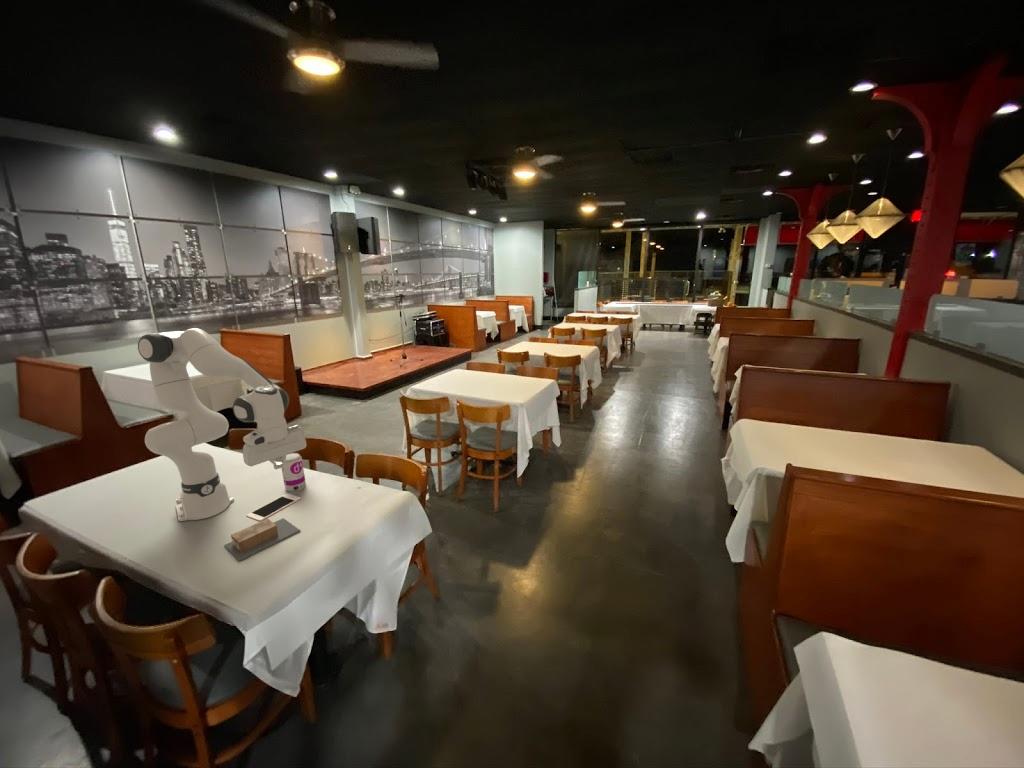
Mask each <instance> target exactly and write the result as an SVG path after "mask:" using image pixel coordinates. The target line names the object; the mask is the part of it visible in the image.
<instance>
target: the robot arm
mask: <svg viewBox="0 0 1024 768" xmlns="http://www.w3.org/2000/svg"><path fill="white" fill-rule="evenodd" d="M137 351H138V354H139V355H140V356H141V357H142V358H143V360H145V361H147V362H149V372H150V373H149V374H150V379H151V383H152V385H153V388H154V391H155V394H156V398H157V400H158V403H159V405H160V407H162V408H163V409H164V410H167V411H170V412H171V411H172V412H178V413H181V414H182V415H183V416H184V418H181V419H177V420H174V421H169V422H165V423H162V424H158V425H157V426H155V427H152V428H149V429H148V430H147V431H146V434H145V436H144V444H145V446H146V448H147V449H148V450H149V451H150V452H152V453H154V454H155V455H161V456H163V457H166V458H168V459H170V460H171V461H172V462H173V463H174V464H175V466H176V467H177V469H178V472H179V477H180V479H181V483H180V484H181V485H180V487H181V490H182V491H181V492H180V493H179V496H180V497H179V498H176V499H175V503H176V504H175V508H176V514H177V519H178V521H179V522H184V521H196V520H197V521H198V520H203V519H207V518H211V517H214V516H216V515H218V514H220V513H222V512H223V511H225V510H226V509H227V508H228V507H229V505H230V504H231V503H233V502H234V501H235V499H234V497H232V496H231V495H230V496H229V493H228V489H227V487H226V484H224V483H222V482H221V480H220V478H221V477H220V475H219V473H218V472H217V468H216V464H215V460H214V457H213V456H212V455H211V454H210V453H207V452H202V451H193V449H192V448H193V447H196V446H198V445H202V444H205V443H209V442H212V441H215V440H217V439H220V438H222V437H223V436H225V435H227V433H228V431H229V427H230V424H229V421H228V419H227V418H226V417H225V416H224V415H223V414H221V413H220V412H217V411H214V410H211V408H210V409H209V407H207V406H206V405H205V404H203V403H202V402H201V401H200V400H199V398H198V396H197V393H196V391H195V389H194V387H193V384H192V380H191V377H190V375H189V372H188V369H187V367H188V366H187V365H188V363H190V364H191V365H192V367H193V368H194V369H195V370H196V371H197V372H198V373H200V374H202V375H203V376H205V377H209V378H216V379H219V378H220V379H221V378H223V379H225V378H226V379H227V378H229V379H237V380H241V381H244V382H246V383H247V384H248V385H250V386H251V387H252V388H253V390H252V391H251V392H249V393H247V394H244V395H241V396H239V397H236V398H235V400H234V401H233V404H232V411H233V415H234V417H235V418H236V419H237V420H239V421H241V422H242V423H254V422H255V423H256V429H255V430H253V431H250V432H249V433H248V434H246V435H244V436H243V438H242V440H243V442H244V445H243V447H242V458H243V462H244V464H245V465H247V466H248V467H254V466H257V465H260V464H262V463H266V462H268V461H269V462H270V463H271V464H272V465H273V469H274V470H278V469H282V467H284V462H285V460H286V455H287V454H290V453H296V452H298V451H301V450H304V449H306V447H307V441H306V436H305V428H304V427H303V426H302V425H300V424H296V425H294V426H289V427H288V426H287V425H288V424H287V420H286V418H285V411H286V410H287V409H288V406H289V404H290V397H289V394H288V393H287V391H285V390H284V389H283V388H282V387H281V386H279V385H277V384H275V383H274V382H272V380H270V379H269V378H268V377H266V376H265V375H264V374H263V373H262V372H261V371H259V370H258V369H257V368H256V367H254V365H252V364H251V363H250V362H248V361H247V360H245V359H242V358H240V357H238V356H235V355H233V354H232V353H230V352H229V351H228V350H227V349H226V348H224V347H223V346H222V345H221V344H220V343H219V342H218V341H217V340H216V339H215V338H214V337H213V336H212V335H210V334H209V333H208V332H206V331H205V330H204V329H201V328H196V327H193V328H188V329H186V330H182V331H181V330H174V331H164V332H151V333H146V334H144V335H142V336H141V337H140V338H139V340H138V343H137ZM277 458H280V460H279V461H278V462H276V459H277Z"/></svg>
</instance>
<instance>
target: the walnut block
mask: <svg viewBox="0 0 1024 768" xmlns="http://www.w3.org/2000/svg"><path fill="white" fill-rule="evenodd" d="M277 535H278V531H277V525H275V524H274V522H273V521H272V520H270V519H269V518H266V519H264V520H263V521H258V522H257V523H255V524H252V525H251V526H248V527H245V528H243V529H241V530H238V531H236V532H235V533H231V534H230V537H231V542H233V545H234V546H235V547H236V548H237V549H238V550H239V551H240V552H241V553H242V552H244V551H246V550H248V549H250V548H252V547H254V546H256V545H259V544H261V543H263V542H265V541H267V540H269V539H271V538H273V537H275V536H277Z"/></svg>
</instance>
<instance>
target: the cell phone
mask: <svg viewBox="0 0 1024 768" xmlns="http://www.w3.org/2000/svg"><path fill="white" fill-rule="evenodd" d="M300 500H301V497H300V496H297V495H294V494H290V493H285V494H284V495H281V496H279V497H277V498H275V499H274V500H272V501H269V502H268V503H266V504H264V505H262V506H261V507H258V508H257V509H255V510H253V511H251V512H249V513H247V514H246V515H245V516H246V517H247V518H249V519H252V520H255V521H258V522H261V521H263V520H266V519H269V518H270V517H272V516H273V515H276V514H277V513H279V512H280V511H282V510H284V509H286V508H288V507H289V506H292V505H293V504H295V503H296V502H298V501H300Z"/></svg>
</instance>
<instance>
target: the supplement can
mask: <svg viewBox="0 0 1024 768" xmlns="http://www.w3.org/2000/svg"><path fill="white" fill-rule="evenodd" d="M281 473H282V478H283V483H284V489H285V490H286V491H287V492H297V491H300V490H303V488H304V487H306V484H307V482H306V477H305V475H306V474H305V470H304V464H303V459H302V456H301V455H300V453H298V452H292V453H290V454H287V455H286V460H285V462H284V467H282V468H281Z"/></svg>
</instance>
